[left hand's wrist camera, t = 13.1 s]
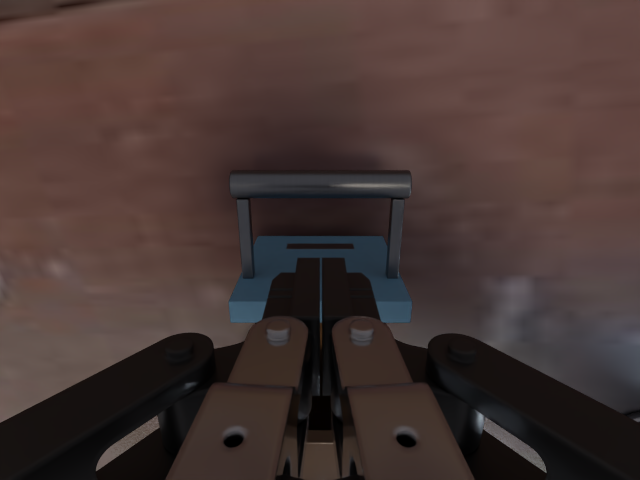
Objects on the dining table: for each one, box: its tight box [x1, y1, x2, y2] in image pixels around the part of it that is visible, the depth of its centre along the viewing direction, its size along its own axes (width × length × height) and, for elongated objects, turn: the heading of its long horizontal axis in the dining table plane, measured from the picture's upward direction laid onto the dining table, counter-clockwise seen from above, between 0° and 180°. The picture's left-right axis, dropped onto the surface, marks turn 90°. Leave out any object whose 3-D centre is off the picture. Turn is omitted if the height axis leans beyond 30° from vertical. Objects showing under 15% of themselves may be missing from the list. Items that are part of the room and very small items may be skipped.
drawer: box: [229, 170, 412, 430], centre depth 25 cm, size 24×9×9 cm, turn 0°
